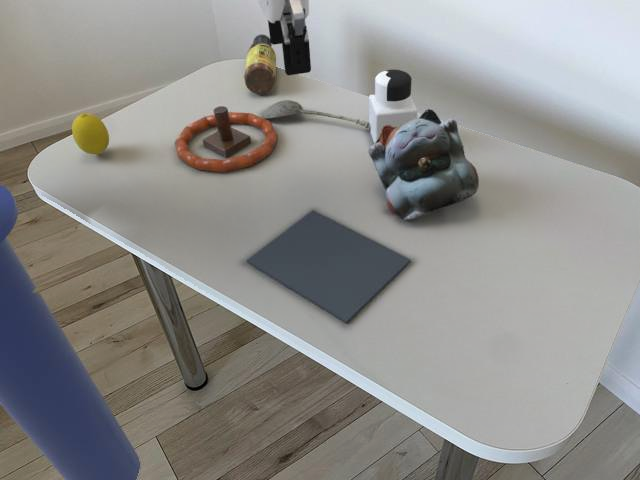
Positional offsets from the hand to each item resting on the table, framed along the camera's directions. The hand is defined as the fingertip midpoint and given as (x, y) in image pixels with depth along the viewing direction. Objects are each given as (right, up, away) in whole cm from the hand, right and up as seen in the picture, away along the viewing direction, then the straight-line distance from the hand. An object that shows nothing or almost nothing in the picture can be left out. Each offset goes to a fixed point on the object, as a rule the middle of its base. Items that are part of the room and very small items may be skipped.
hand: (290, 57), depth 72 cm
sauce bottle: (-10, +9, +38) cm, 40 cm away
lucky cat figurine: (+19, -17, +15) cm, 29 cm away
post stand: (-14, -6, +27) cm, 31 cm away
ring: (-14, -5, +26) cm, 30 cm away
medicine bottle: (+15, -5, +28) cm, 32 cm away
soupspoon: (+2, 0, +32) cm, 32 cm away
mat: (+5, -27, +5) cm, 28 cm away
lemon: (-37, -8, +26) cm, 46 cm away
